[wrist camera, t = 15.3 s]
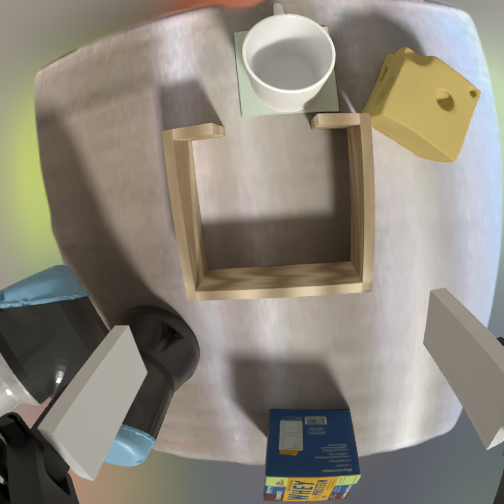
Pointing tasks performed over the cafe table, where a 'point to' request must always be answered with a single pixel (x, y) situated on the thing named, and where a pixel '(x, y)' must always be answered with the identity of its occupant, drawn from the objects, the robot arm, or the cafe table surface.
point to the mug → (288, 60)
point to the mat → (255, 107)
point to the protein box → (310, 455)
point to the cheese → (422, 105)
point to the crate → (285, 276)
